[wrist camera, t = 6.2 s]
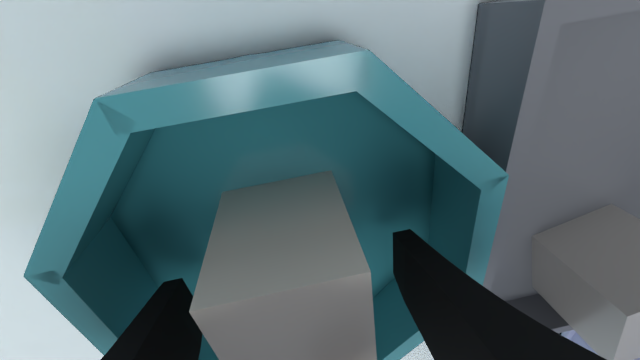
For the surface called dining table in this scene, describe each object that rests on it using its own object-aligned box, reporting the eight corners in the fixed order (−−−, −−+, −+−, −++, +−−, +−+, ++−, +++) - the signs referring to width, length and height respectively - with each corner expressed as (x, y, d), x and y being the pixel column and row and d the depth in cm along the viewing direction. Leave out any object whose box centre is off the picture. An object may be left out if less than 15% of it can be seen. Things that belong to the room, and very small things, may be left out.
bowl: (432, 292, 16) (466, 351, 13) (191, 347, 15) (172, 422, 12) (459, 17, 9) (546, 18, 6) (15, 95, 8) (-120, 135, 5)
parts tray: (637, 267, 18) (687, 301, 16) (439, 314, 17) (463, 356, 15) (847, -60, 10) (1014, -82, 7) (479, 3, 9) (545, -1, 7)
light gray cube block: (600, 259, 16) (702, 334, 12) (532, 286, 16) (610, 367, 12) (611, 203, 14) (740, 274, 10) (531, 236, 14) (627, 316, 10)
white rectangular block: (343, 261, 13) (378, 377, 9) (256, 280, 13) (249, 408, 8) (331, 170, 10) (370, 271, 6) (222, 191, 10) (189, 311, 6)
